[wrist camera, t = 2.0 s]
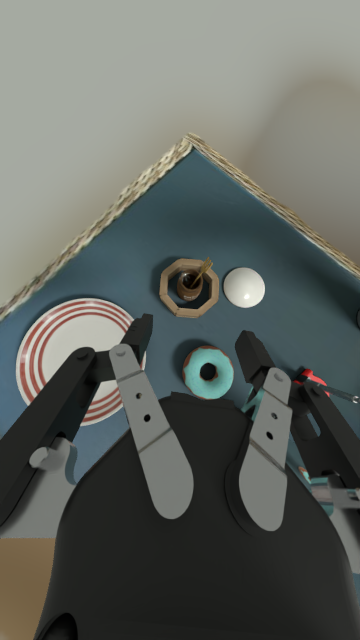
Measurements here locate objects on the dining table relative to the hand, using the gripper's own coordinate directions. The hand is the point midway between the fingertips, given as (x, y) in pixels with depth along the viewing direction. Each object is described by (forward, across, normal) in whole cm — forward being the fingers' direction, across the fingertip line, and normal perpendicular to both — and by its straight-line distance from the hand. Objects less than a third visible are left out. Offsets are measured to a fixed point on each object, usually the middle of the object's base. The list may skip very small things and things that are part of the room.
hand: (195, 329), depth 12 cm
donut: (+11, -8, +21) cm, 25 cm away
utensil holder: (+24, 0, +8) cm, 25 cm away
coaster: (+26, -15, +5) cm, 31 cm away
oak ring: (+24, 0, +7) cm, 25 cm away
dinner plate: (+10, +21, +22) cm, 32 cm away
